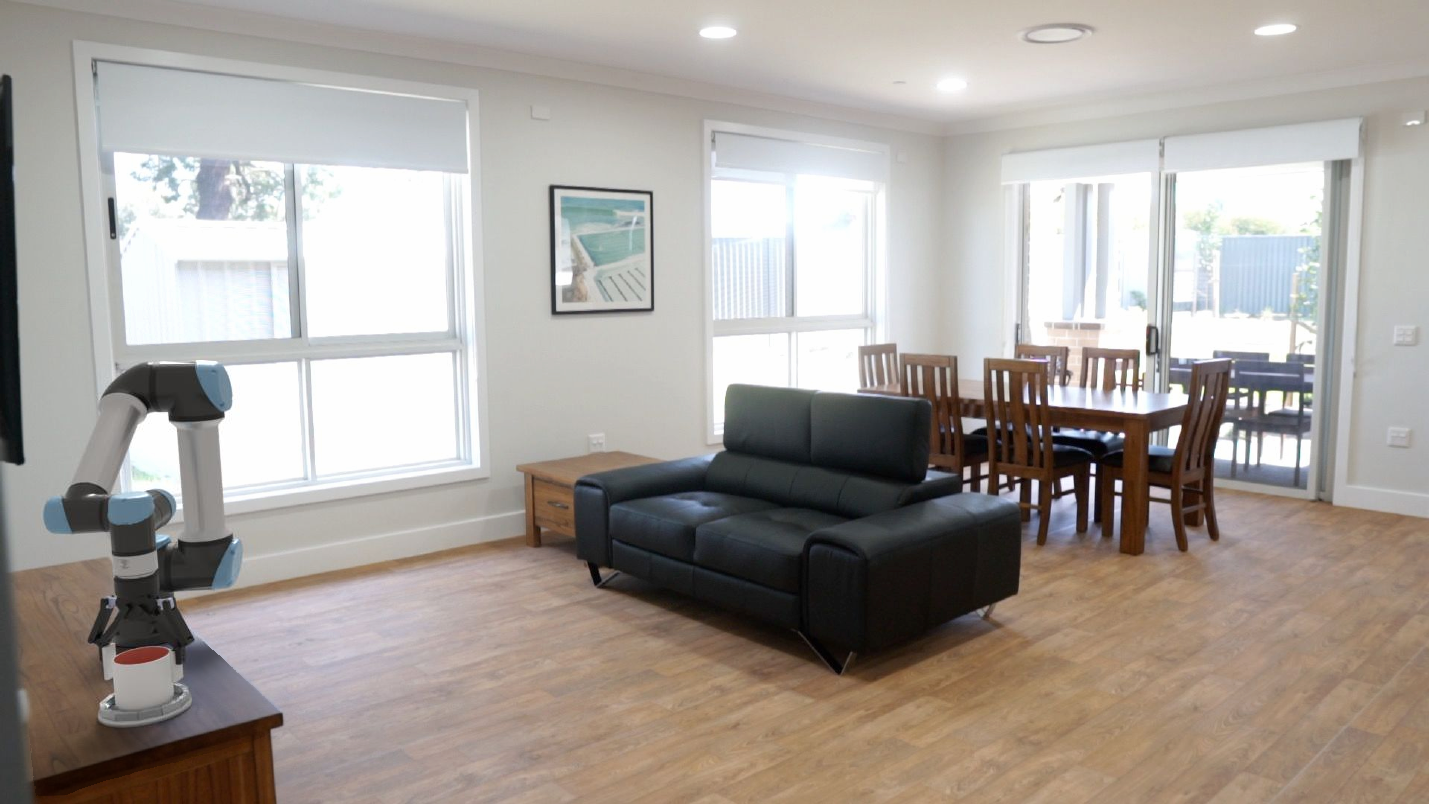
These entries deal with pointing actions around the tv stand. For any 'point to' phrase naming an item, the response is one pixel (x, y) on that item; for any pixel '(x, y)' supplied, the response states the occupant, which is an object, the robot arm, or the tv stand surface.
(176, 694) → the faceted steel dish
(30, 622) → the tv stand surface
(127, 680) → the cup
